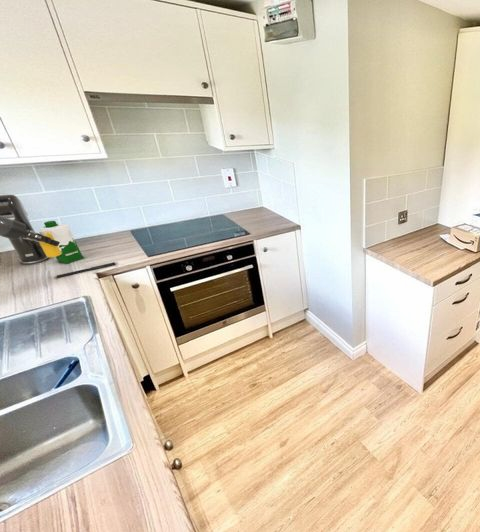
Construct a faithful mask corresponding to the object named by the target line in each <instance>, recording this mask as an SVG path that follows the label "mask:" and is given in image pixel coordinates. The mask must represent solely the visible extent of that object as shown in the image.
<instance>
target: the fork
mask: <svg viewBox="0 0 480 532" xmlns="http://www.w3.org/2000/svg"><path fill="white" fill-rule="evenodd" d="M113 266H116V263H115V261H114V262H109V263H105V264H100V265H96V266H91V267H89V268H84V269H80V270H75V271H70V272H66V273H62V274H57V275H56V278H58V279H59V278H64V277H69V276H72V275H76V274H81V273H85V272H90V271H96V270H99V269H103V268H108V267H113Z"/></svg>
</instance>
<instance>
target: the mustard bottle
mask: <svg viewBox="0 0 480 532" xmlns="http://www.w3.org/2000/svg"><path fill="white" fill-rule="evenodd" d="M38 233H39V234H42V235H44V236H46V237H50V238H52V240H54V238H53V236H52V234H51V233H46V231H41V230H39V232H38ZM45 240H46V238H45ZM45 240H44V241H45ZM39 243H40V245H41V247H42V249H43V250H44V252H45V254H46V256H47V257H49V258H56V256H59V255H61V252H60V250H59V248H58V246H54V245H51V244H48V243H44V242H39Z"/></svg>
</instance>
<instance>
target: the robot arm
mask: <svg viewBox="0 0 480 532" xmlns="http://www.w3.org/2000/svg"><path fill="white" fill-rule="evenodd" d="M6 216H13V219H11V218H8V217H6ZM0 237H3V238H6V239H8V240H9V242H10V244H11V245H12V247H13V249H14V251H15V253H16V254H17V256H18V258H19V260H20V262H21V264H23V265H31V264H37V263H40V262H41V263H42V262H44V261H46V260H48V259H49V258H50V257H47V256H46V254H45V252H44V250H43V249H42V247H41V245H40V243H39V242H44V243H48V244H51V245H54V246H58V245H59V243H60V242H58V241H55V240H52V238H50V237H46V236H44V235H42V234H40V233H39V232H36V231H35V229H34V227H33V226H32V224H31V221H30V219H29V217H28V215H27V212H26V210H25V208H24V206H23V203H22V202H21V200H20V199H19V197H18V196H17V195H15V194H1V195H0ZM45 238H46V240H45ZM44 240H45V241H44Z"/></svg>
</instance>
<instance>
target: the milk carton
mask: <svg viewBox="0 0 480 532" xmlns="http://www.w3.org/2000/svg"><path fill="white" fill-rule="evenodd" d="M43 225H44V226H43V227H39V230H40V231H46V233H51V234H52V236H53V238H54V240H55V241H58V242H60V243H59V245H58V248H59V250H60V252H61V255H59V256H56V257H55V258H56V260H57V262H60V263H63V264H64V263H65V264H70V263H73V262H76V261H80V260H81V259H84V256H83V254H82V251H81V250H80V247H79V246H78V244H77V242H76V239H75V237H74V235H73V234H72V233H73V232H72V231H71V228H70V225H68V224H65V223H57V221H56V220H48V221H45V222H43Z"/></svg>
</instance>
